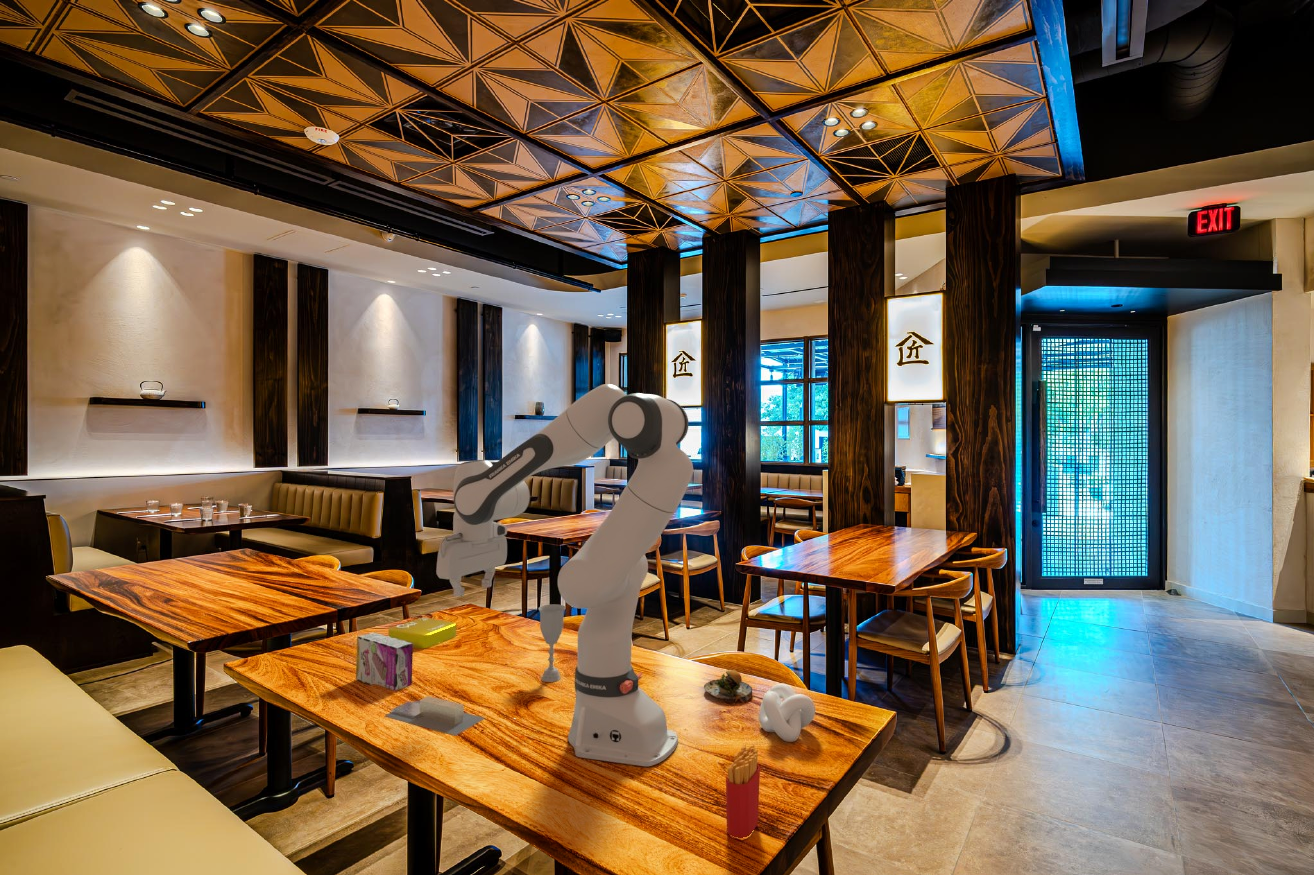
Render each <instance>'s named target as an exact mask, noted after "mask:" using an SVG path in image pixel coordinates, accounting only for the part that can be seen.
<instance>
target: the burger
mask: <svg viewBox="0 0 1314 875" xmlns="http://www.w3.org/2000/svg"><path fill="white" fill-rule="evenodd" d="M739 666H740V665H738V666H737V669H735V670H734V669H728V670H726V671H725V673H726V675H725V673H723V674H722V675H721V677H720V678H718V679H713V680H710V681H708V682H706V683H705V684H704V686H703V688H704V690H705V692H707V693H709V695H711V696H713V697H714V698H718V699H721V700H725V701H726V703H727V704H728V705H729V704H730V705H733V704H737V701H738V700H739V701H741V703H744V702H745V703H746V702H749V699H751V698H753V696H752V695H753V687H752V686H751V685H750V684H749V683H747V682H744V681H743V678H742V675H741V673H739V671H737V670H738V668H739ZM727 704H726V705H727Z"/></svg>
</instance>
